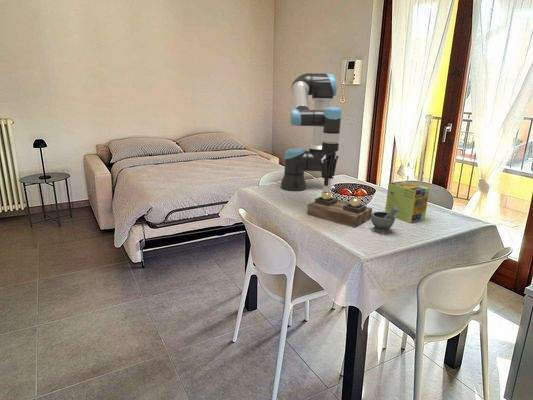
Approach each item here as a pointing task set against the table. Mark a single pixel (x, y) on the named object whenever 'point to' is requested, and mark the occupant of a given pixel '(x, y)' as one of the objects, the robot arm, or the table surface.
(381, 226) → the mortar and pestle
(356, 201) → the knob
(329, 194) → the knob
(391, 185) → the protein box
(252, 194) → the table surface
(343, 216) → the mount
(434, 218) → the table surface
